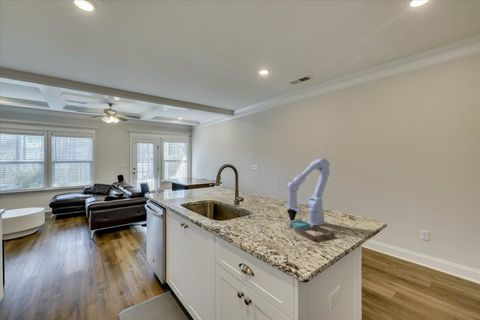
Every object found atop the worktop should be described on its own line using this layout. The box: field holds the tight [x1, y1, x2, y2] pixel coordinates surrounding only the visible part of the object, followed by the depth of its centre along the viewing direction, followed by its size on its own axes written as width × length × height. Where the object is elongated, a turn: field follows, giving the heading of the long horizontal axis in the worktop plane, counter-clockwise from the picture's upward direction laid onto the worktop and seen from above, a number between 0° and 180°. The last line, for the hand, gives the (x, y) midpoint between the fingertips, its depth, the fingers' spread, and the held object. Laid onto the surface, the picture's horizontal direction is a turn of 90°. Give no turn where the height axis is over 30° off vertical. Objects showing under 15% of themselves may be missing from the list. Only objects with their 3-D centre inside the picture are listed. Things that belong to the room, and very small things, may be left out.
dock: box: [294, 225, 336, 242], centre depth 118 cm, size 15×15×2 cm
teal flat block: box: [289, 218, 311, 231], centre depth 130 cm, size 10×8×4 cm
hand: (292, 220), depth 137 cm, fingers closed
